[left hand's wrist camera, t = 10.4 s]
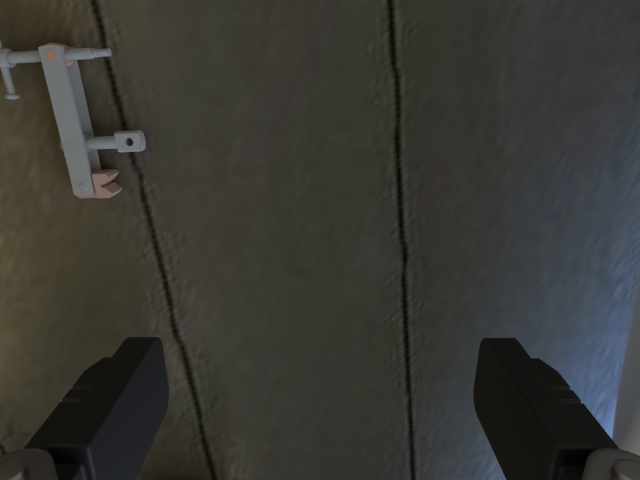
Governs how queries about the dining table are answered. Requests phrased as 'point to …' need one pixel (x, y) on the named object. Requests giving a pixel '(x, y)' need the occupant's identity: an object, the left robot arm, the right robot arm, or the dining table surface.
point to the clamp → (74, 116)
